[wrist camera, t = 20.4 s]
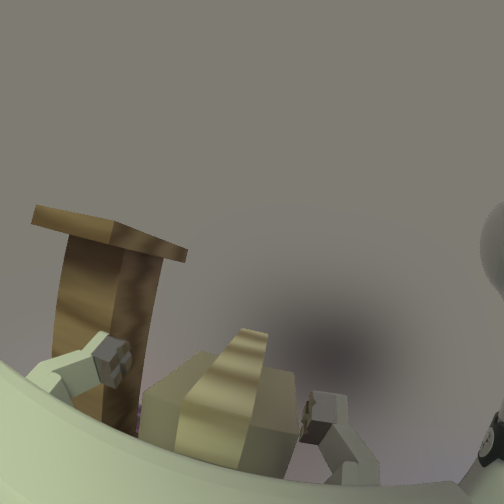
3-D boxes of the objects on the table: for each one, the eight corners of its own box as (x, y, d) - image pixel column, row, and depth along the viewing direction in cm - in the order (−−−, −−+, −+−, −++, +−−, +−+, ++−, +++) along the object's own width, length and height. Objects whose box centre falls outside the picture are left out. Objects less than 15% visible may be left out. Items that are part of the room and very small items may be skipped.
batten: (236, 469, 11) (251, 417, 11) (173, 451, 11) (182, 399, 12) (262, 359, 33) (268, 334, 33) (236, 353, 33) (242, 328, 33)
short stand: (101, 521, 15) (127, 223, 17) (20, 469, 16) (28, 203, 18) (159, 450, 31) (196, 251, 33) (94, 422, 32) (120, 234, 34)
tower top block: (267, 517, 15) (299, 434, 16) (135, 478, 16) (143, 392, 17) (275, 436, 29) (293, 372, 29) (188, 414, 30) (200, 350, 31)
